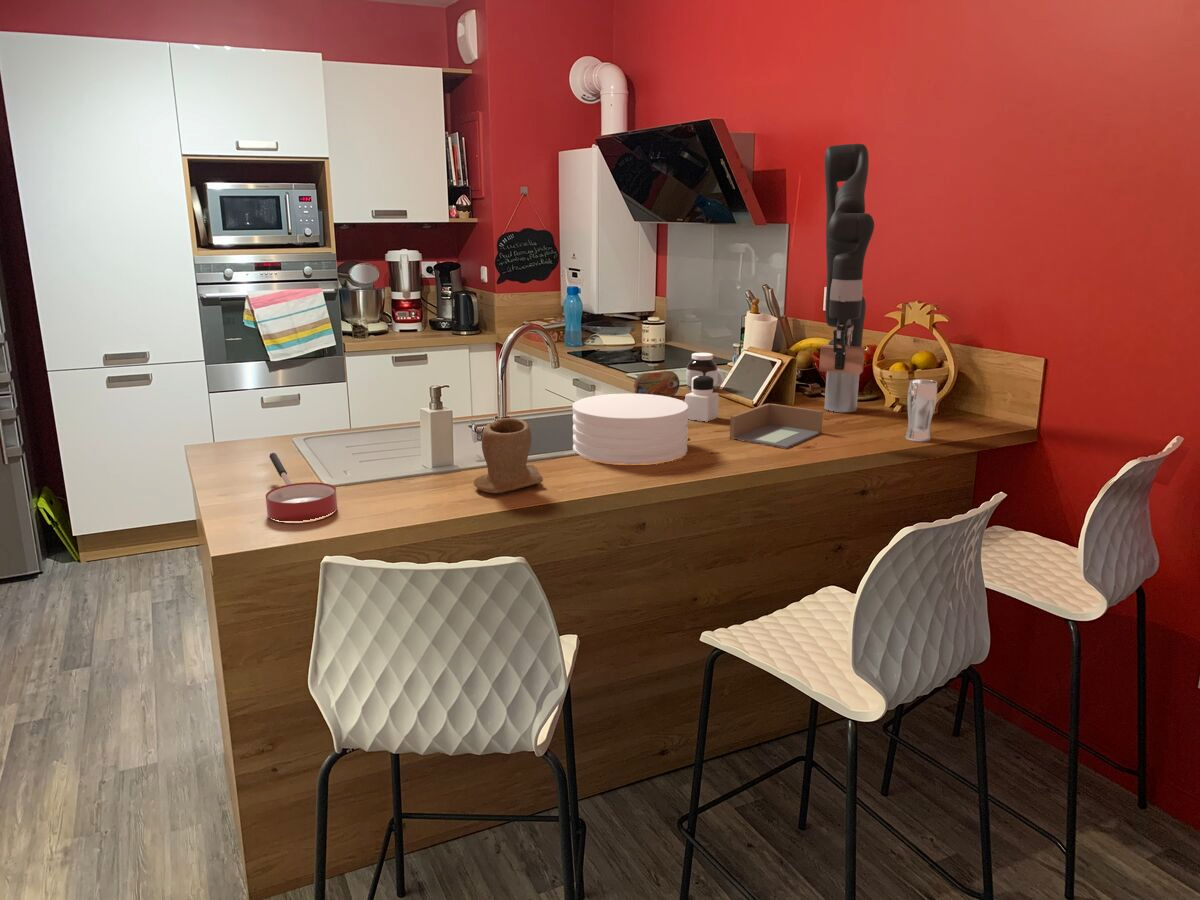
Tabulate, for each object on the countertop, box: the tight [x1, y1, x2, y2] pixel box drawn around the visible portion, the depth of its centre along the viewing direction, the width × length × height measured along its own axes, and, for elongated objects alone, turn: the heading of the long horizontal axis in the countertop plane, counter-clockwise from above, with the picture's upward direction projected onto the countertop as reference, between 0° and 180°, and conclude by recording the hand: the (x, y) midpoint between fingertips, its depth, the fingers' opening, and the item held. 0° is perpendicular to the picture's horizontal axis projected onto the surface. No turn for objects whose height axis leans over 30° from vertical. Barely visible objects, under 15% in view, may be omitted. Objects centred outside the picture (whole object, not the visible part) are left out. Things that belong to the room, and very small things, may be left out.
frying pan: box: [265, 452, 338, 521], centre depth 182 cm, size 32×13×6 cm, turn 36°
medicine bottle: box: [684, 376, 720, 423], centre depth 252 cm, size 7×7×12 cm
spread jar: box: [685, 352, 724, 390], centre depth 293 cm, size 12×11×12 cm
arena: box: [729, 402, 824, 449], centre depth 233 cm, size 20×16×6 cm
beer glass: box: [905, 378, 938, 443], centre depth 229 cm, size 7×7×15 cm
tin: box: [633, 370, 680, 398], centre depth 279 cm, size 15×3×8 cm, turn 115°
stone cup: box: [473, 417, 544, 494], centre depth 189 cm, size 15×12×15 cm
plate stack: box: [572, 393, 689, 464], centre depth 219 cm, size 28×28×12 cm
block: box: [818, 344, 866, 375], centre depth 222 cm, size 4×10×6 cm, turn 65°
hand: (840, 367), depth 222 cm, fingers closed on block, 4 cm apart
